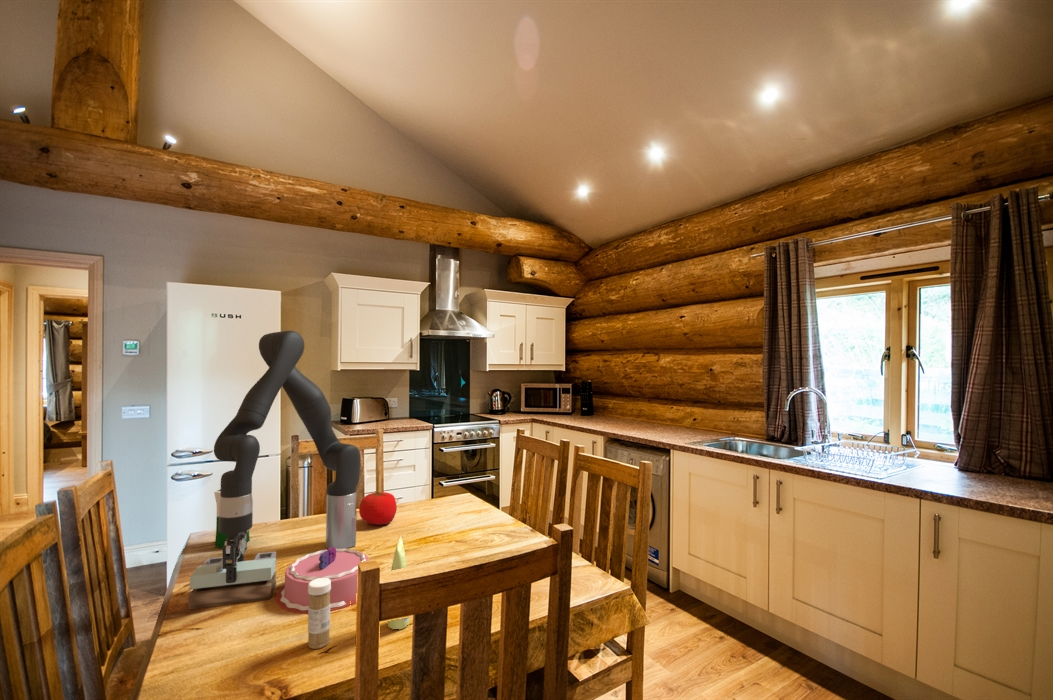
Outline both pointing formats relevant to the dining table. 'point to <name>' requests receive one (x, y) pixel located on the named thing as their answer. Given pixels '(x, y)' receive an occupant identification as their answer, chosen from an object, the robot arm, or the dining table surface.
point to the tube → (397, 563)
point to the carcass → (231, 593)
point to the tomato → (378, 508)
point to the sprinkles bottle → (319, 613)
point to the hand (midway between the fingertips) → (235, 576)
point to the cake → (321, 565)
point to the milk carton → (219, 537)
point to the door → (246, 571)
